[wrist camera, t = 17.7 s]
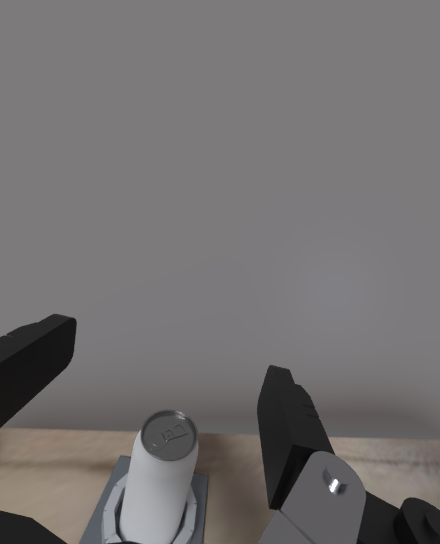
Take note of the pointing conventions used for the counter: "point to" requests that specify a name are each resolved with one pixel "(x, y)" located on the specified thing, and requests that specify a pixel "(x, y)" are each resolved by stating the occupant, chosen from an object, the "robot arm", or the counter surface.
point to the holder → (110, 504)
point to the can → (159, 478)
